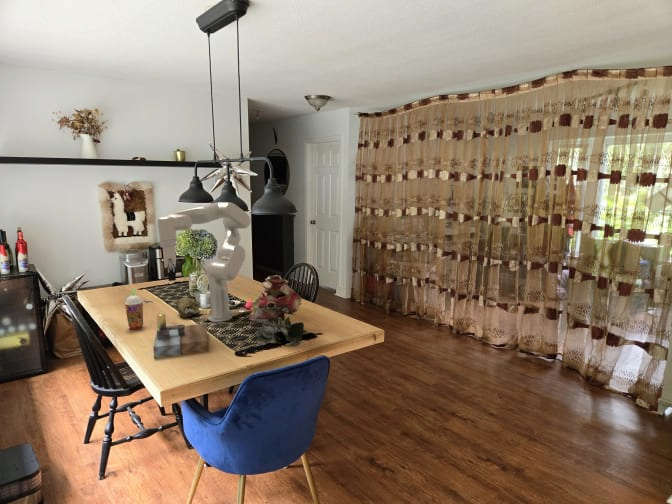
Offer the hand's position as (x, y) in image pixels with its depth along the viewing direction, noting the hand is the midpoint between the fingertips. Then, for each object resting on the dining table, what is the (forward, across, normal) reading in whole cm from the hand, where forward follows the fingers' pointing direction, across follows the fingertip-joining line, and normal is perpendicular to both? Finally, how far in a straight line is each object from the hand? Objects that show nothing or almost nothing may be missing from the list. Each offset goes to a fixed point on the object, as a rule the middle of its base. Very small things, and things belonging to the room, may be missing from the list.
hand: (172, 278), depth 200 cm
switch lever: (+20, +15, -2) cm, 25 cm away
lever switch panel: (+28, +16, +2) cm, 32 cm away
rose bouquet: (+30, +20, +45) cm, 57 cm away
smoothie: (+28, -18, -21) cm, 40 cm away
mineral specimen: (+30, -29, +6) cm, 42 cm away
